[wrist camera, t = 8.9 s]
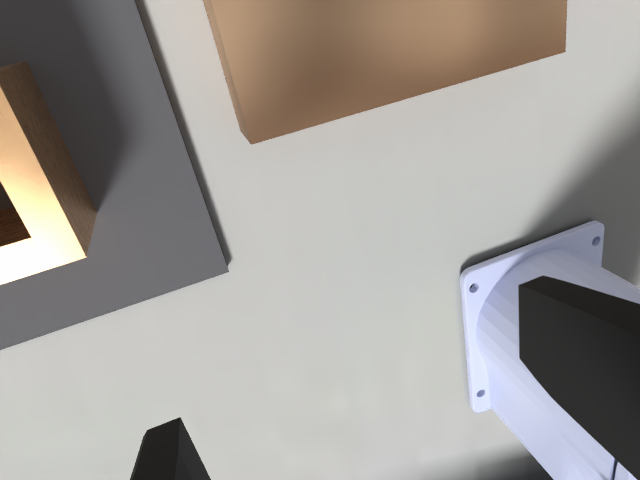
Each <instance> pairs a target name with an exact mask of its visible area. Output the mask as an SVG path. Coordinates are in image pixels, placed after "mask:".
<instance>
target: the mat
mask: <svg viewBox="0 0 640 480" xmlns="http://www.w3.org/2000/svg"><path fill="white" fill-rule="evenodd" d="M24 61H27V63H28V65H29V68H30V70H31V72H32V74H33V76H34V78H35V80H36V83H37V85H38V87H39V89H40V91H41V93H42V95H43V98H44V100H45V102H46V104H47V106H48V108H49V110H50V112H51V115H52V117H53V119H54V121H55V123H56V125H57V127H58V130H59V132H60V134H61V136H62V138H63V140H64V142H65V145H66V147H67V149H68V151H69V153H70V155H71V157H72V160H73V162H74V164H75V166H76V168H77V170H78V172H79V175H80V177H81V179H82V181H83V183H84V185H85V187H86V190H87V192H88V194H89V196H90V198H91V200H92V202H93V205H94V207H95V209H96V211H97V217H96V221H95V225H94V229H93V233H92V237H91V241H90V245H89V249H88V253H87V257H86V258H83V259H80V260H76V261H73V262H70V263H67V264H64V265H61V266H57V267H54V268H51V269H48V270H45V271H42V272H39V273H35V274H32V275H29V276H26V277H23V278H20V279H16V280H13V281H10V282H7V283H4V284H1V285H0V350H2V349H5V348H8V347H11V346H13V345H16V344H19V343H22V342H25V341H28V340H31V339H34V338H37V337H40V336H43V335H46V334H49V333H51V332H54V331H57V330H60V329H63V328H66V327H69V326H72V325H75V324H78V323H81V322H84V321H87V320H89V319H92V318H95V317H98V316H101V315H104V314H107V313H110V312H113V311H116V310H119V309H122V308H125V307H127V306H130V305H133V304H136V303H139V302H142V301H145V300H148V299H151V298H154V297H157V296H160V295H163V294H165V293H168V292H171V291H174V290H177V289H180V288H183V287H186V286H189V285H192V284H195V283H198V282H201V281H203V280H206V279H209V278H212V277H215V276H218V275H221V274H224V273H227V272H229V270H228V267H227V264H226V261H225V259H224V256H223V253H222V250H221V247H220V244H219V241H218V239H217V236H216V233H215V230H214V227H213V224H212V221H211V218H210V216H209V213H208V210H207V207H206V204H205V201H204V198H203V195H202V193H201V190H200V187H199V184H198V181H197V178H196V175H195V173H194V170H193V167H192V164H191V161H190V158H189V155H188V152H187V150H186V147H185V144H184V141H183V138H182V135H181V132H180V129H179V127H178V124H177V121H176V118H175V115H174V112H173V109H172V107H171V104H170V101H169V98H168V95H167V92H166V89H165V86H164V84H163V81H162V78H161V75H160V72H159V69H158V66H157V63H156V61H155V58H154V55H153V52H152V49H151V46H150V43H149V41H148V38H147V35H146V32H145V29H144V26H143V23H142V20H141V18H140V15H139V12H138V9H137V6H136V3H135V0H0V67H3V66H7V65H12V64H16V63H20V62H24ZM11 207H15V206H14V205H13V203H12V201H11V199H10V197H9V196H8V194H7V192H6V190H5V188H4V187H3V185H2V183H1V181H0V211H1V210H4V209H8V208H11Z"/></svg>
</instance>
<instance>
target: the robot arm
mask: <svg viewBox="0 0 640 480" xmlns="http://www.w3.org/2000/svg"><path fill="white" fill-rule="evenodd" d="M604 230H605V228H604V225H603V223H600V222H598V221H596V220H594V221H590V222H588V223H585V224H582V225H580V226H577V227H574V228H572V229H569V230H566V231H564V232H561V233H558V234H556V235H553V236H550V237H548V238H545V239H542V240H540V241H537V242H534V243H532V244H529V245H526V246H524V247H521V248H518V249H516V250H513V251H510V252H508V253H505V254H502V255H500V256H497V257H495V258H492V259H489V260H487V261H484V262H481V263H479V264H476V265H473V266H471V267H468V268H466V269H465V270H464V271H463V272H462V274H461V276H460V285H461V297H462V310H463V322H464V334H465V347H466V359H467V371H468V384H469V396H470V406H471V408H472V409H473V411H474V412H476V413H481V412H483V411H486V410H488V409H490V408H492V409H493V410H494V412H495V413H496V414H497V415H498V416H499V417H500V418H501V420H502V421H503V422H504V423H505V424H506V425H507V427H508V428H509V429H510V430H511V431H512V432H513V433H514V435H515V436H516V437H517V438H518V439H519V440H520V441H521V443H522V444H523V445H524V446H525V447H526V448H527V449H528V451H529V452H530V453H531V454H532V455H533V456H534V457H535V459H536V460H537V461H538V462H539V463H540V464H541V465H542V467H543V468H544V469H545V470H546V471H547V472H548V473H549V475H550V476H551V477H552V478H553V479H554V480H640V288H639V287H637V286H635V285H633V284H632V283H630V282H628V281H626V280H624V279H623V278H621V277H619V276H617V275H615V274H614V273H612V272H610V271H608V270H606V269H605V268H603V267H601V266H602V254H603V242H604ZM472 284H474V285H473V286H472V287H471V288H470V286H471V285H472ZM469 288H470V289H469ZM130 480H211V479H210V477H209V475H208V473H207V471H206V469H205V467H204V465H203V463H202V461H201V459H200V457H199V455H198V452H197V450H196V448H195V446H194V444H193V442H192V440H191V438H190V436H189V434H188V432H187V430H186V428H185V426H184V424H183V422H182V420H181V418H177V419H175V420H172V421H169V422H167V423H164V424H162V425H159V426H157V427H154V428H152V429H149V430H147V432H146V433H145V435H144V437H143V440H142V443H141V446H140V450H139V453H138V456H137V459H136V463H135V466H134V469H133V472H132V475H131V478H130Z"/></svg>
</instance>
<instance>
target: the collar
mask: <svg viewBox="0 0 640 480" xmlns="http://www.w3.org/2000/svg"><path fill="white" fill-rule="evenodd" d="M0 181H1V183H2V185H3V187H4V188H5V190H6V192H7V194H8V196H9V197H10V199H11V201H12V203H13V205H14V206H15V207H11V208H8V209H4V210H1V211H0V285H1V284H4V283H7V282H10V281H13V280H16V279H20V278H23V277H26V276H29V275H32V274H35V273H39V272H42V271H45V270H48V269H51V268H54V267H57V266H61V265H64V264H67V263H70V262H73V261H76V260H80V259H83V258H86V257H87V253H88V249H89V245H90V241H91V237H92V233H93V229H94V225H95V221H96V217H97V211H96V209H95V207H94V205H93V202H92V200H91V198H90V196H89V194H88V192H87V190H86V187H85V185H84V183H83V181H82V179H81V177H80V175H79V172H78V170H77V168H76V166H75V164H74V162H73V160H72V157H71V155H70V153H69V151H68V149H67V147H66V145H65V142H64V140H63V138H62V136H61V134H60V132H59V130H58V127H57V125H56V123H55V121H54V119H53V117H52V115H51V112H50V110H49V108H48V106H47V104H46V102H45V100H44V98H43V95H42V93H41V91H40V89H39V87H38V85H37V83H36V80H35V78H34V76H33V74H32V72H31V70H30V68H29V65H28V63H27V61H24V62H20V63H16V64H12V65H7V66H3V67H0Z"/></svg>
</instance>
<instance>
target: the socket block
mask: <svg viewBox="0 0 640 480" xmlns="http://www.w3.org/2000/svg"><path fill="white" fill-rule="evenodd" d="M203 2H204V5H205V9H206V12H207V16H208V19H209V22H210V26H211V29H212V33H213V36H214V40H215V43H216V47H217V50H218V54H219V57H220V61H221V64H222V68H223V71H224V75H225V78H226V82H227V85H228V88H229V92H230V95H231V99H232V102H233V106H234V109H235V113H236V116H237V120H238V123H239V127H240V130H241V132H242V134H243V135H244V136H245V137H246V139H247V140H248V141H249V142H250V144H255V143H258V142H262V141H265V140H268V139H272V138H275V137H279V136H282V135H285V134H289V133H292V132H295V131H299V130H302V129H306V128H309V127H312V126H316V125H319V124H323V123H326V122H329V121H333V120H336V119H340V118H343V117H346V116H350V115H353V114H356V113H360V112H363V111H367V110H370V109H373V108H377V107H380V106H384V105H387V104H390V103H394V102H397V101H401V100H404V99H407V98H411V97H414V96H417V95H421V94H424V93H428V92H431V91H434V90H438V89H441V88H445V87H448V86H451V85H455V84H458V83H462V82H465V81H468V80H472V79H475V78H478V77H482V76H485V75H489V74H492V73H495V72H499V71H502V70H506V69H509V68H512V67H516V66H519V65H523V64H526V63H529V62H533V61H536V60H539V59H543V58H546V57H550V56H553V55H556V54H560V53H563V52H565V48H566V18H567V0H203Z"/></svg>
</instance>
